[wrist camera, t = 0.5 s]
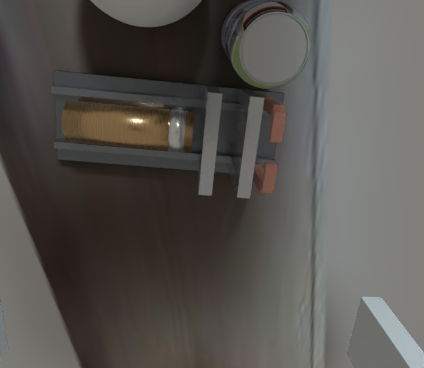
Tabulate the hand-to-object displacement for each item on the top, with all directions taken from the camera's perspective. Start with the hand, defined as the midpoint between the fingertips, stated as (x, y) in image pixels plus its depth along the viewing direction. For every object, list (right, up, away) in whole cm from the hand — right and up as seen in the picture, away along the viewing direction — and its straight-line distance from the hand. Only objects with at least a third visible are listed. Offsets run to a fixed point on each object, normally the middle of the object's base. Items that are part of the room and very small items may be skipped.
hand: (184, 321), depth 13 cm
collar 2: (+4, +10, +24) cm, 27 cm away
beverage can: (+5, +19, +23) cm, 30 cm away
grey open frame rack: (-3, +11, +25) cm, 27 cm away
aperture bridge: (+6, +11, +25) cm, 28 cm away
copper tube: (-7, +11, +24) cm, 27 cm away
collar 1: (0, +11, +25) cm, 27 cm away
